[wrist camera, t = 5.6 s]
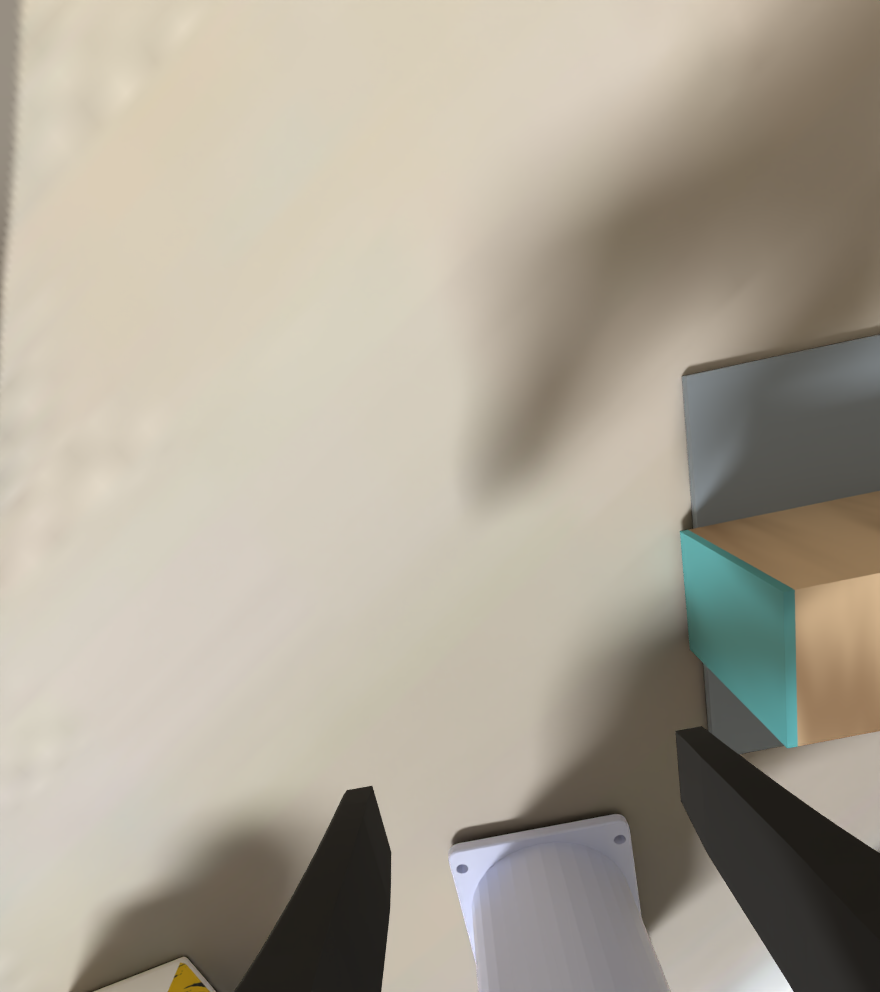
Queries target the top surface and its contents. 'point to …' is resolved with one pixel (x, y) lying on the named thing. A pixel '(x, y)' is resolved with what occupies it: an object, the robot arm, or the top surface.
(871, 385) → the slate mat
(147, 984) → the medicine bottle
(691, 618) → the oak block
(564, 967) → the robot arm
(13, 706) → the top surface
